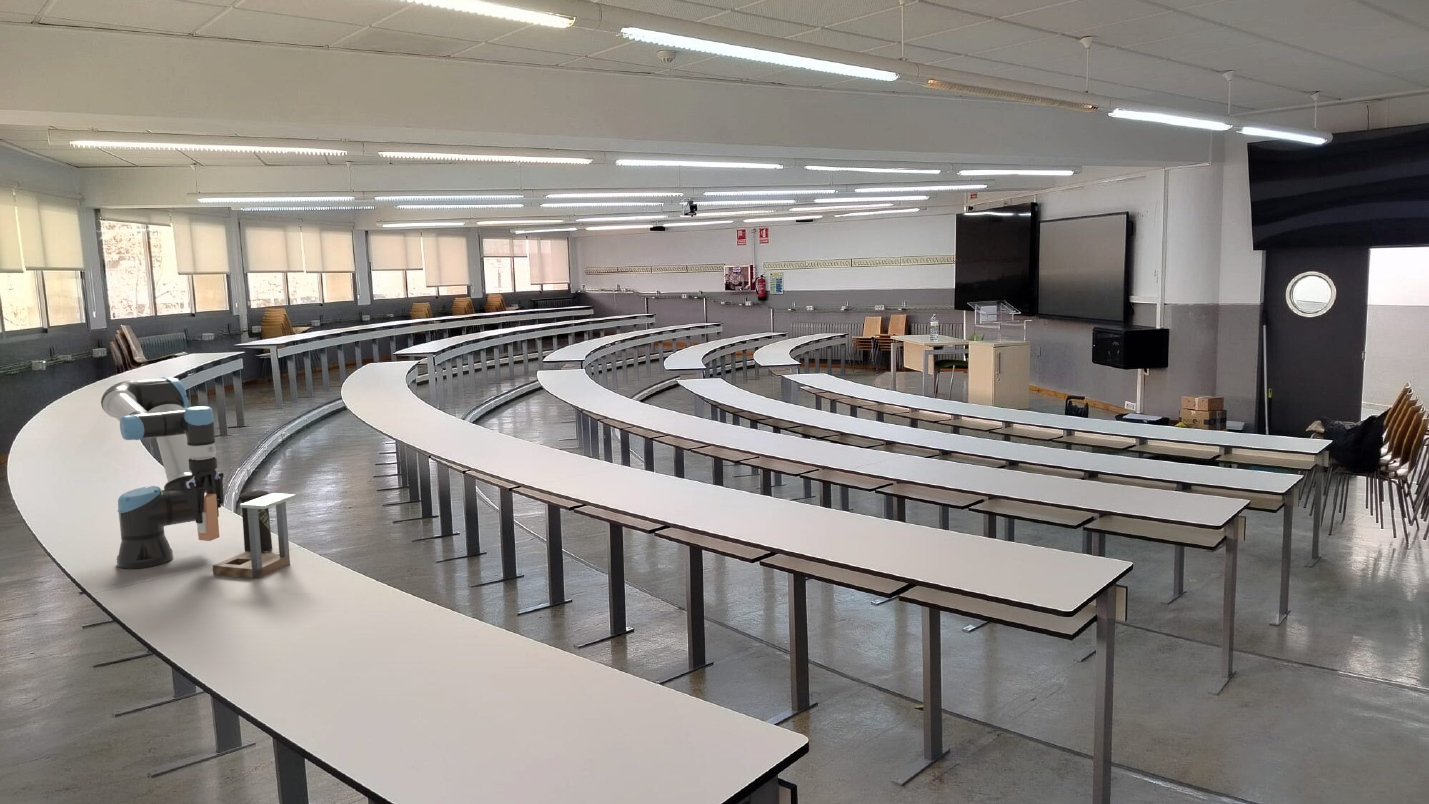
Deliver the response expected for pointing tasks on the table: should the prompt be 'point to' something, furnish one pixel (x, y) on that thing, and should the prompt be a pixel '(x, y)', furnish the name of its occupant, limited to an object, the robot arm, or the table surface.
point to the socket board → (250, 565)
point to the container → (263, 522)
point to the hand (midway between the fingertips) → (208, 530)
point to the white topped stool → (253, 524)
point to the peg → (210, 518)
